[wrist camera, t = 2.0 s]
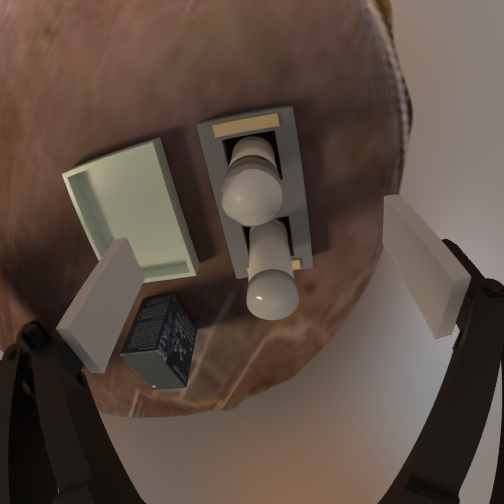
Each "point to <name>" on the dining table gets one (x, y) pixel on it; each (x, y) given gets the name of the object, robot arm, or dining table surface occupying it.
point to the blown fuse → (252, 183)
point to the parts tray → (134, 209)
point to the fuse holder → (290, 176)
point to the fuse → (271, 272)
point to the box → (161, 343)
